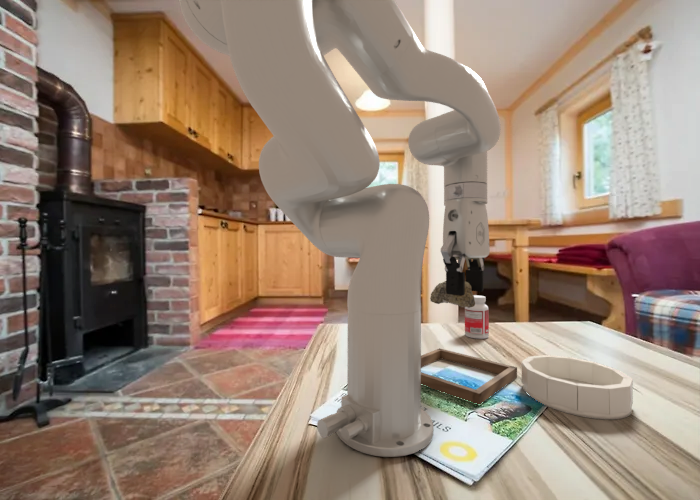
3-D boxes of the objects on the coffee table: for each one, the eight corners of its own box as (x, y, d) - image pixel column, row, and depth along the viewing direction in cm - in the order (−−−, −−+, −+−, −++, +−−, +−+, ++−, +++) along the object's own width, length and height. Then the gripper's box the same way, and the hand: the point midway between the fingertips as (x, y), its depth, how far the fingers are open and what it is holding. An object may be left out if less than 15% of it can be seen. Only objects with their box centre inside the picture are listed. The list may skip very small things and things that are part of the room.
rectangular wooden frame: (479, 405, 47) (479, 393, 47) (394, 375, 59) (394, 366, 59) (517, 377, 58) (517, 367, 58) (439, 356, 70) (439, 348, 70)
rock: (487, 305, 58) (487, 281, 58) (458, 309, 54) (458, 282, 54) (456, 300, 64) (456, 278, 64) (428, 303, 60) (428, 279, 60)
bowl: (626, 431, 41) (625, 397, 41) (510, 395, 51) (510, 368, 51) (636, 397, 50) (635, 370, 50) (537, 373, 60) (537, 350, 60)
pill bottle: (479, 333, 91) (479, 294, 91) (493, 338, 85) (493, 297, 85) (460, 334, 90) (460, 295, 90) (473, 339, 84) (473, 298, 84)
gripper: (464, 186, 49) (464, 299, 49) (503, 199, 62) (503, 290, 62) (422, 192, 55) (422, 295, 54) (466, 204, 67) (466, 287, 67)
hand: (465, 292), depth 58 cm, fingers closed on rock, 7 cm apart
